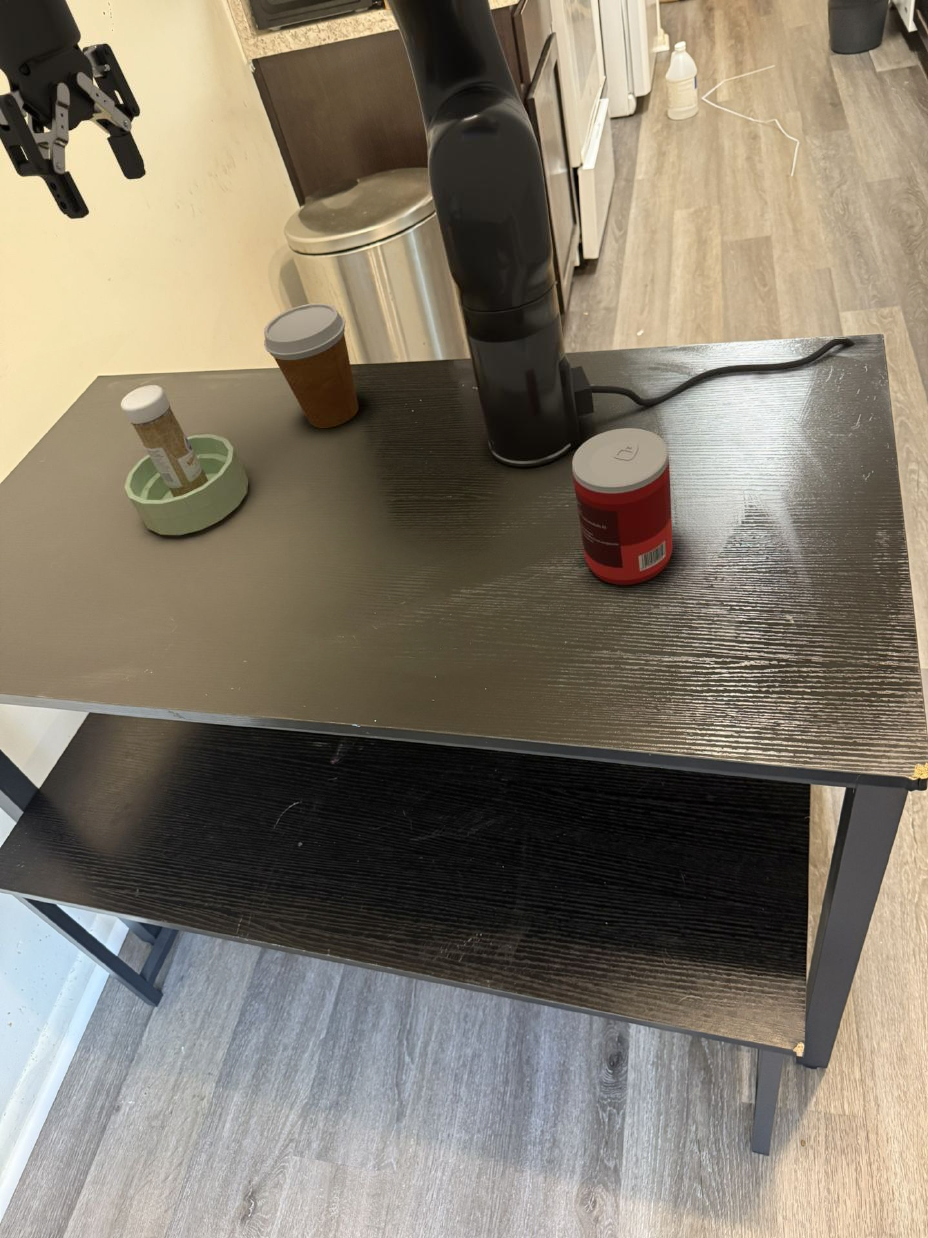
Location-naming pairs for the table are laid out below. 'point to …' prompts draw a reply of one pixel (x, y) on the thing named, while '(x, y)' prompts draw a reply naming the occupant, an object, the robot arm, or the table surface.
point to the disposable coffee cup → (314, 361)
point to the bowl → (198, 504)
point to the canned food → (624, 504)
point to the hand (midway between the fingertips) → (109, 196)
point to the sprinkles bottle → (164, 439)
